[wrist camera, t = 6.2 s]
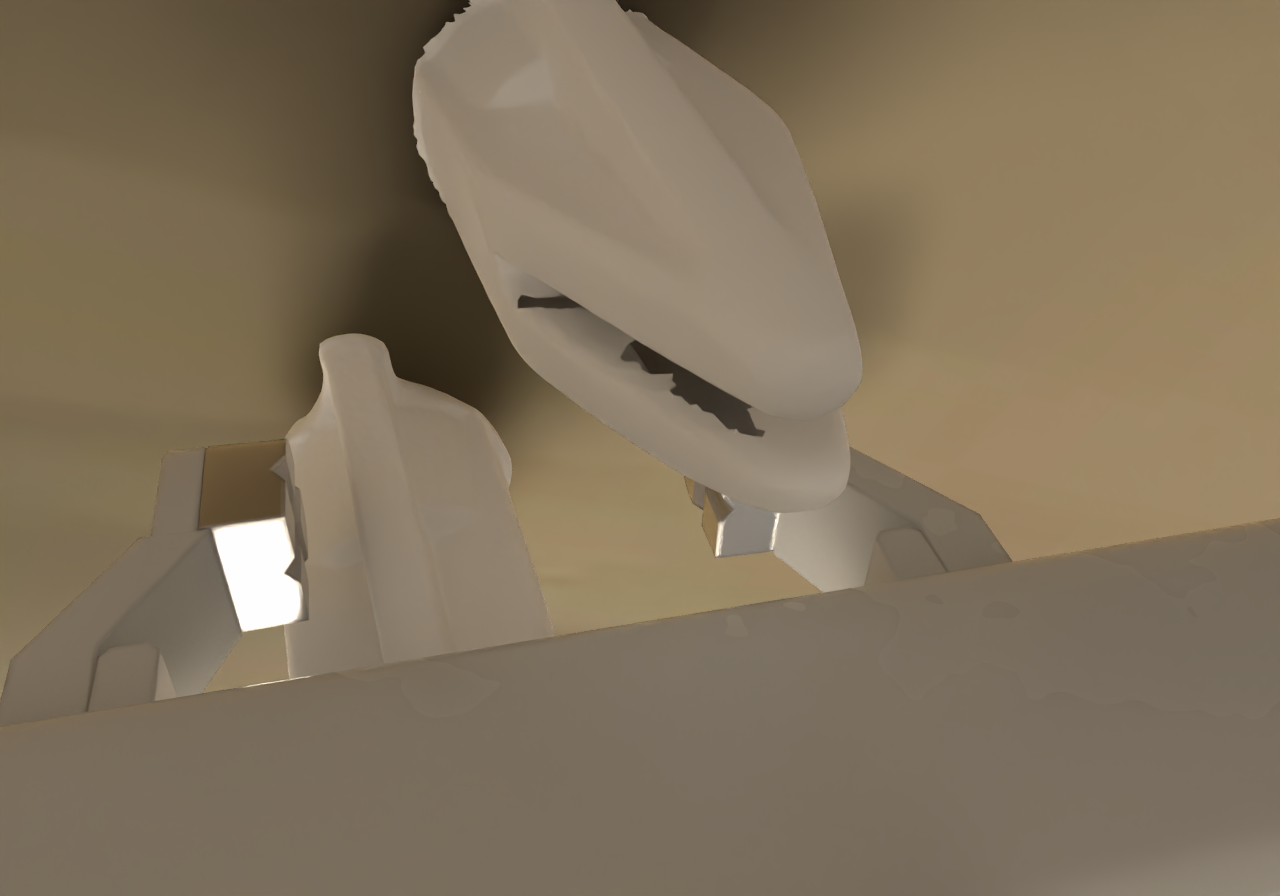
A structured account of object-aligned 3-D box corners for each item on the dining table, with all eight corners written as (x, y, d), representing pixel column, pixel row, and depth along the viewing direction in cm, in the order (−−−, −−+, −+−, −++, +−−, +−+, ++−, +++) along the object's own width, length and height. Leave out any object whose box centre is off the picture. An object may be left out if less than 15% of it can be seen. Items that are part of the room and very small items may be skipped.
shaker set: (444, 562, 22) (537, 1179, 14) (229, 522, 20) (189, 1214, 12) (743, -3, 16) (1214, 485, 8) (482, -135, 14) (747, 326, 6)
